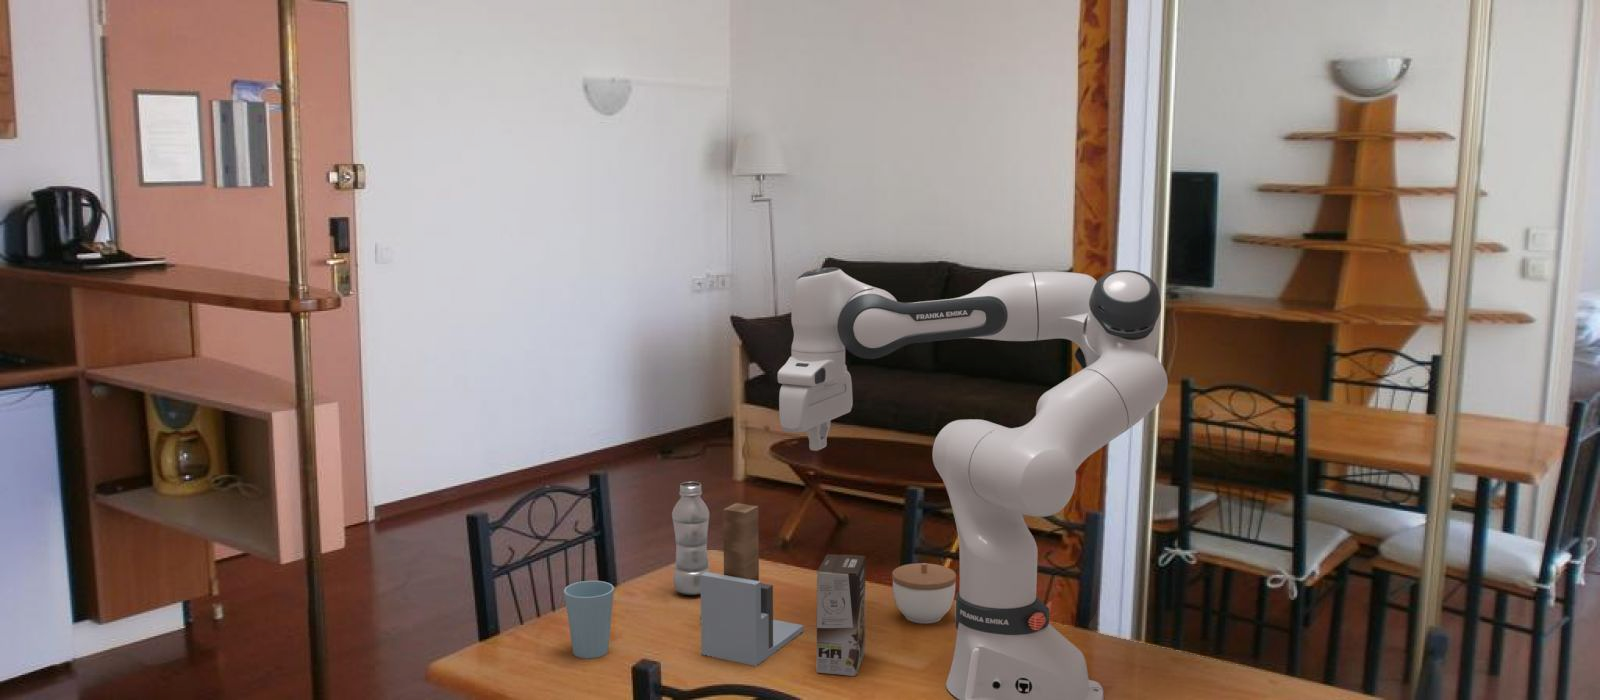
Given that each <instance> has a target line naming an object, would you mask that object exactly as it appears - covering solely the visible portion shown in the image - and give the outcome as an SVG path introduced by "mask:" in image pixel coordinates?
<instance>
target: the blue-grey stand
mask: <svg viewBox="0 0 1600 700" xmlns="http://www.w3.org/2000/svg"><path fill="white" fill-rule="evenodd" d="M700 577H701V594H700V617H701V619H700V628H701V629H700V634H701V635H700V636H701V637H700V639H701V640H700V641H701V649H700V650H701V651H700V652H701V653H700V654H701V655H702V654H703V656H705V655H707V657H710V656H712V657H711V658H715V657H716V659H721V660H724V659H725V660H726V661H729V662H735V663H740V664H744V665H749V666H754V667H757V666H758V664H759V665H760V664H761V663H763V662H764V661H765V660H766V659H768V658H770V657H771V656H772V655H773V654H775V653H776V652H777V650H778V651H779V650H780V649H782V648H783V647H784V646H786V645H787V644H789V643H790V642H791V641H793V640H794V639H795V638H797V637H798V636H800V635H801V634H802V633H803V632H804V631H805V629H804V628H805V626H804V625H803V624H798V623H793V622H788V621H783V620H777V619H774V584H769V583H762V581H760V580H759V581H755V580H749V579H743V578H738V577H732V576H726V575H724V574H720V573H714V572H710V573H709V572H705V573H703V574H701V575H700ZM801 632H802V633H801ZM800 633H801V634H800ZM793 638H794V639H793ZM781 647H782V648H781ZM725 660H724V661H725ZM762 661H763V662H762Z"/></svg>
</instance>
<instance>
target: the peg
mask: <svg viewBox="0 0 1600 700" xmlns="http://www.w3.org/2000/svg"><path fill="white" fill-rule="evenodd" d="M759 512H760V511H759V505H751V504H746V503H739V502H736V503H734V504H731V505H729V506H727V507H725V508H723V511H722V515H723V516H722V520H723V523H722V526H723V527H722V529H723V530H722V531H723V534H722V535H723V539H722V540H723V575H726V576H732V577H738V578H743V579H749V580H755V581H760V562H759V561H760V554H759V553H760V550H759V547H760V546H759V545H760V543H759V542H760V541H759V540H760V539H759V536H760V535H759V534H760V533H759V532H760V529H759V527H760V526H759V525H760V524H759V522H760V521H759V520H760V518H759V516H760V515H759Z"/></svg>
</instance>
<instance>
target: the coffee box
mask: <svg viewBox="0 0 1600 700" xmlns="http://www.w3.org/2000/svg"><path fill="white" fill-rule="evenodd" d="M866 557H867V556H866V555H857V554H829V553H827V554H826V555H825V557H824V558H823V561H821V564H819V565H820V566H819V567H818V570H817V571H816V573H817V575H816V577H817V579H816V664H815V665H816V670H815V671H816V673H817V674H818V673H819V674H829V675H839V676H849V677H855V676H857V674H858V671H859V669H860V666H861V665H862V662H863V659H864V656H865V654H866V559H867V558H866Z"/></svg>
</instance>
